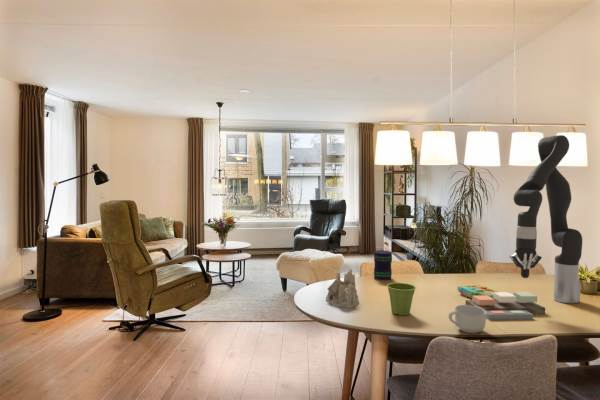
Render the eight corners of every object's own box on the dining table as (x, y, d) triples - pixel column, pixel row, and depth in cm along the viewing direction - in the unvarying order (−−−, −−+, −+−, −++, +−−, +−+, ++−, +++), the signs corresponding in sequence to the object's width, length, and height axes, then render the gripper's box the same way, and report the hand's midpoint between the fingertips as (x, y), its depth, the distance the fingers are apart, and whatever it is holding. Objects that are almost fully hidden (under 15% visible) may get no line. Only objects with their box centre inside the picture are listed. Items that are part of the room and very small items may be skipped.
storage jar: (370, 277, 237) (370, 251, 236) (383, 275, 241) (384, 250, 241) (381, 281, 228) (381, 254, 227) (395, 279, 233) (395, 252, 232)
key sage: (528, 297, 181) (528, 292, 181) (537, 301, 174) (537, 296, 174) (513, 297, 181) (513, 292, 180) (521, 302, 174) (522, 296, 174)
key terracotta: (487, 300, 180) (487, 295, 180) (494, 305, 174) (494, 299, 174) (472, 301, 180) (472, 295, 180) (479, 305, 173) (479, 299, 173)
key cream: (507, 297, 180) (507, 292, 180) (516, 302, 174) (516, 296, 174) (492, 297, 180) (493, 292, 180) (500, 302, 174) (500, 296, 174)
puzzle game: (478, 283, 205) (508, 293, 186) (477, 292, 206) (508, 304, 186) (457, 284, 202) (486, 295, 183) (457, 294, 202) (486, 306, 183)
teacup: (477, 325, 158) (478, 304, 158) (492, 335, 147) (492, 313, 147) (441, 325, 157) (441, 304, 157) (453, 336, 147) (453, 313, 146)
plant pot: (402, 319, 164) (403, 291, 164) (380, 312, 174) (380, 285, 173) (421, 314, 171) (422, 286, 171) (399, 307, 181) (399, 281, 180)
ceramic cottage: (331, 295, 199) (331, 264, 197) (364, 301, 192) (365, 269, 190) (317, 305, 185) (317, 273, 184) (352, 312, 178) (353, 278, 176)
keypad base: (528, 305, 184) (528, 299, 184) (545, 313, 172) (545, 307, 172) (465, 305, 183) (465, 300, 183) (478, 314, 171) (478, 308, 171)
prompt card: (525, 315, 170) (525, 309, 170) (533, 319, 165) (533, 313, 165) (482, 315, 169) (482, 310, 169) (488, 319, 164) (488, 313, 164)
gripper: (536, 236, 180) (534, 275, 181) (506, 235, 180) (504, 275, 181) (547, 238, 173) (545, 279, 174) (515, 238, 173) (514, 279, 173)
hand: (524, 277), depth 177 cm, fingers closed
